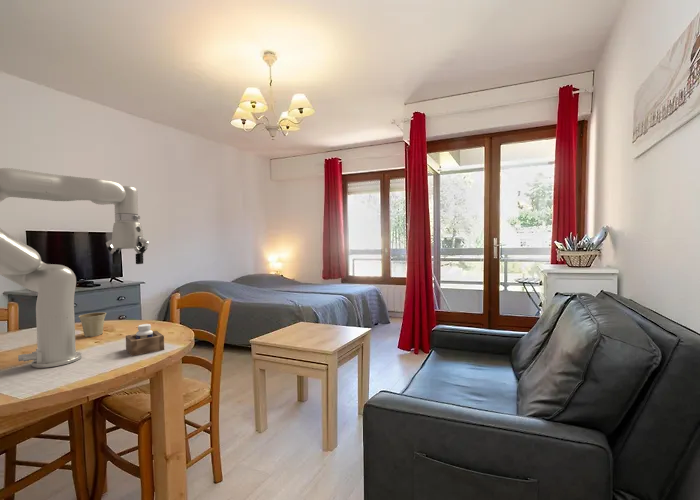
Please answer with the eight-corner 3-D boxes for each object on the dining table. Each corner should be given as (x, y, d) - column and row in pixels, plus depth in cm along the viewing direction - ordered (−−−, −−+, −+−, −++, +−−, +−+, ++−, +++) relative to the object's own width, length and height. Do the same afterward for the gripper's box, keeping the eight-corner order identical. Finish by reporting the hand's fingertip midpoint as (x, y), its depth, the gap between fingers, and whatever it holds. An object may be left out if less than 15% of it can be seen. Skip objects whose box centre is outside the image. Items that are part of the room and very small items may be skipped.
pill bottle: (140, 352, 123) (139, 327, 123) (133, 350, 126) (133, 325, 126) (156, 349, 127) (155, 324, 127) (149, 346, 130) (148, 322, 130)
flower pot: (73, 337, 144) (72, 316, 144) (96, 331, 153) (95, 311, 153) (90, 338, 142) (89, 317, 141) (112, 332, 151) (111, 312, 150)
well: (132, 356, 120) (131, 341, 120) (126, 349, 127) (125, 335, 127) (164, 349, 126) (163, 335, 126) (156, 343, 134) (156, 330, 134)
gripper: (154, 219, 137) (155, 263, 137) (114, 220, 139) (115, 263, 140) (140, 218, 130) (141, 264, 130) (98, 219, 132) (99, 264, 132)
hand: (128, 263), depth 135 cm, fingers open, 9 cm apart
